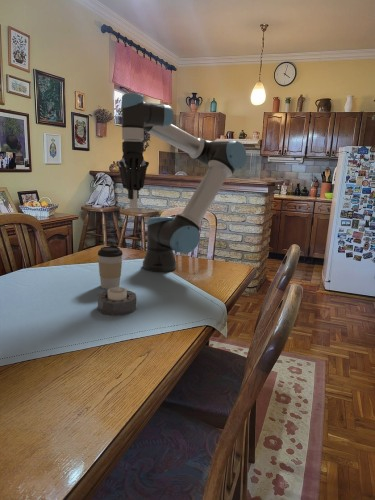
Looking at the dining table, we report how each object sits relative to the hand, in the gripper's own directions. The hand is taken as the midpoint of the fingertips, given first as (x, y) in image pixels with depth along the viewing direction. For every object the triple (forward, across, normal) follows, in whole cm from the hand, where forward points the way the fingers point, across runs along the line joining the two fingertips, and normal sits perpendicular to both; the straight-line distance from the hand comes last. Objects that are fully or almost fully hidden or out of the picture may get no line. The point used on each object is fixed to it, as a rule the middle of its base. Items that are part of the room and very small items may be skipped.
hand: (133, 207), depth 131 cm
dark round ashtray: (+29, +19, +16) cm, 38 cm away
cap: (+29, +19, +16) cm, 38 cm away
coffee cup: (+29, +9, -3) cm, 31 cm away
